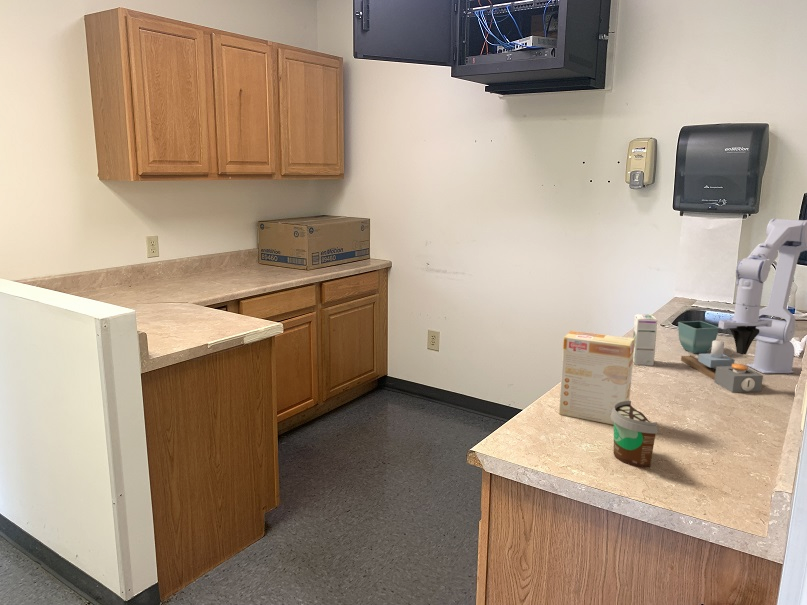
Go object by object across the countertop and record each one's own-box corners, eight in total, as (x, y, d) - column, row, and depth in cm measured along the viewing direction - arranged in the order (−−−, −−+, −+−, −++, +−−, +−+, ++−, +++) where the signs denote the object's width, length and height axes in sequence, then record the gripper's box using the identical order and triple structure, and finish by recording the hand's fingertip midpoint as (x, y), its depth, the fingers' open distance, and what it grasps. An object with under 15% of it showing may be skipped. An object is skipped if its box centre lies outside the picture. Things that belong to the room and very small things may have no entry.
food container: (597, 444, 129) (601, 400, 127) (625, 443, 129) (629, 399, 127) (623, 472, 117) (627, 424, 115) (653, 471, 118) (658, 423, 115)
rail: (699, 360, 186) (700, 352, 186) (735, 380, 169) (737, 371, 168) (680, 360, 186) (681, 352, 185) (715, 380, 168) (716, 372, 168)
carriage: (720, 360, 176) (723, 338, 175) (733, 367, 170) (736, 344, 169) (698, 361, 176) (700, 339, 174) (710, 367, 170) (712, 345, 168)
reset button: (740, 375, 165) (742, 363, 164) (749, 380, 161) (751, 367, 161) (727, 376, 165) (728, 363, 164) (735, 381, 161) (737, 368, 160)
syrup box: (654, 366, 180) (658, 319, 177) (633, 364, 181) (637, 318, 178) (650, 360, 186) (655, 314, 183) (630, 359, 187) (634, 313, 184)
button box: (741, 381, 168) (743, 365, 167) (761, 392, 160) (764, 376, 159) (714, 381, 167) (716, 366, 166) (733, 392, 159) (735, 376, 158)
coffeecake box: (628, 416, 143) (635, 337, 139) (623, 427, 137) (631, 345, 133) (565, 404, 150) (570, 329, 146) (558, 414, 144) (563, 336, 140)
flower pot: (716, 354, 192) (720, 327, 190) (692, 356, 190) (696, 328, 188) (697, 346, 200) (700, 320, 199) (674, 348, 199) (677, 321, 197)
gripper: (760, 299, 164) (753, 347, 167) (713, 301, 161) (707, 350, 164) (780, 305, 157) (773, 355, 160) (731, 307, 154) (725, 358, 157)
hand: (741, 353), depth 162 cm, fingers closed
